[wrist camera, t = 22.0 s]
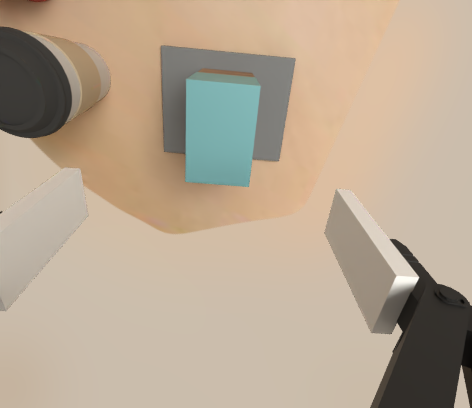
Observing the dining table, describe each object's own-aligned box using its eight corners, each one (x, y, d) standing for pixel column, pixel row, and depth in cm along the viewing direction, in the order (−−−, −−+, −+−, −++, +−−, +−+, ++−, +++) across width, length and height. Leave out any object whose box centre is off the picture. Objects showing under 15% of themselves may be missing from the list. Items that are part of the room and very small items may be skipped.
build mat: (162, 45, 36) (161, 45, 35) (294, 58, 37) (295, 58, 36) (165, 149, 42) (164, 151, 41) (278, 159, 43) (278, 161, 42)
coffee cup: (75, 13, 34) (-26, -6, 21) (134, 79, 38) (79, 98, 24) (30, 68, 37) (-84, 81, 24) (89, 125, 40) (18, 164, 27)
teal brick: (196, 71, 30) (186, 79, 24) (255, 77, 30) (260, 85, 24) (194, 157, 34) (185, 181, 28) (246, 161, 35) (248, 186, 28)
